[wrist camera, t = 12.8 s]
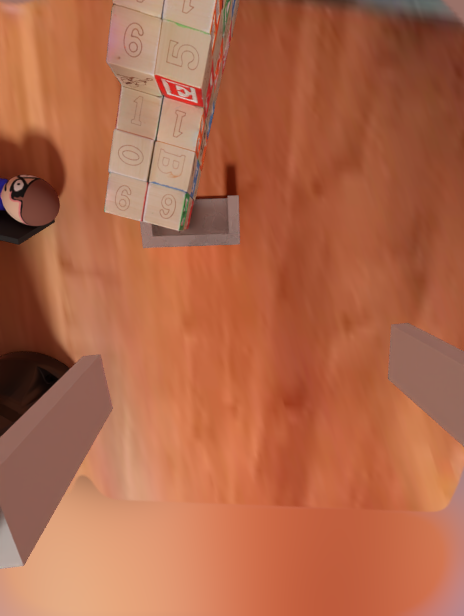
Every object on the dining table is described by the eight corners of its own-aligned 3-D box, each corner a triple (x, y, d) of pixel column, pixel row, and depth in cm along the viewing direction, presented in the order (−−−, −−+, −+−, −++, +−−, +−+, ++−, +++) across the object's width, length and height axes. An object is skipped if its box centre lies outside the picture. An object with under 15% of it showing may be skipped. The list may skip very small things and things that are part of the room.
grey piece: (150, 245, 37) (143, 247, 33) (145, 201, 35) (137, 198, 32) (238, 242, 37) (239, 244, 33) (236, 198, 35) (238, 195, 32)
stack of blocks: (189, 230, 33) (172, 234, 21) (133, 215, 32) (83, 210, 20) (239, 1, 27) (254, -169, 16) (173, -23, 27) (136, -219, 15)
